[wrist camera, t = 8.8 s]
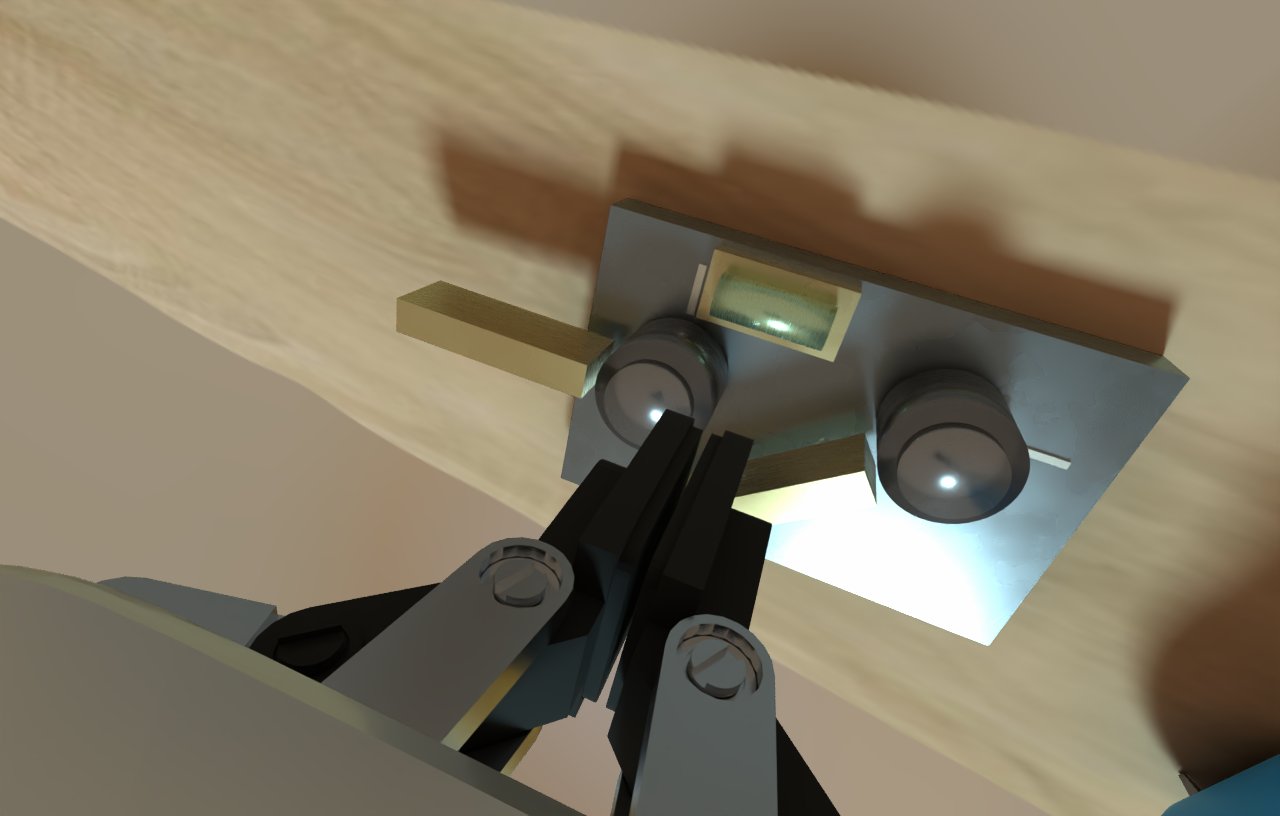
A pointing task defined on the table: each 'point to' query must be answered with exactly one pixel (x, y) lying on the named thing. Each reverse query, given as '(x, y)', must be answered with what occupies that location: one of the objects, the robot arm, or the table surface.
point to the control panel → (877, 402)
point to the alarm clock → (1234, 794)
